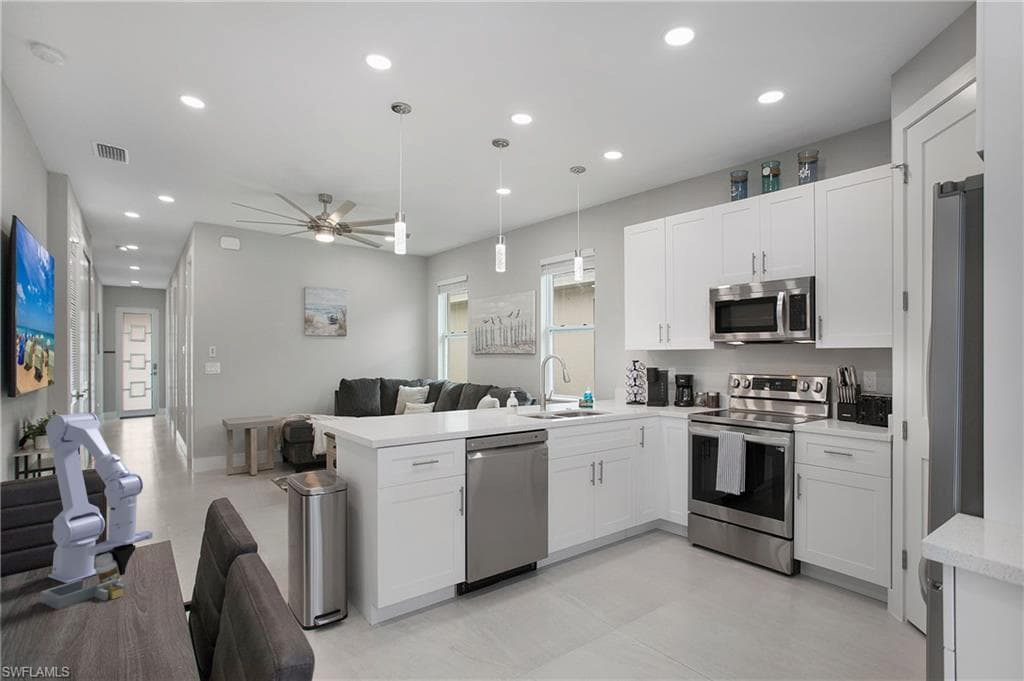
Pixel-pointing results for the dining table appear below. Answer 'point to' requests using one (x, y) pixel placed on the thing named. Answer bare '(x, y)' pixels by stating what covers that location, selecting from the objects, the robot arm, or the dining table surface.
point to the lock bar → (114, 591)
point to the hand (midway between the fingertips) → (120, 574)
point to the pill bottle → (106, 568)
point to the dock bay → (76, 593)
